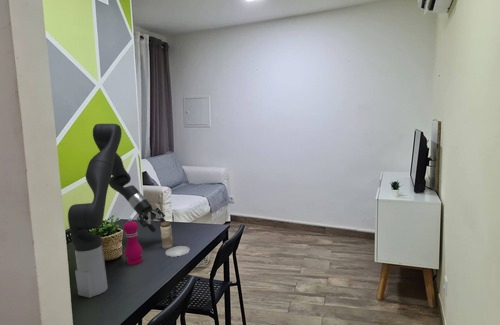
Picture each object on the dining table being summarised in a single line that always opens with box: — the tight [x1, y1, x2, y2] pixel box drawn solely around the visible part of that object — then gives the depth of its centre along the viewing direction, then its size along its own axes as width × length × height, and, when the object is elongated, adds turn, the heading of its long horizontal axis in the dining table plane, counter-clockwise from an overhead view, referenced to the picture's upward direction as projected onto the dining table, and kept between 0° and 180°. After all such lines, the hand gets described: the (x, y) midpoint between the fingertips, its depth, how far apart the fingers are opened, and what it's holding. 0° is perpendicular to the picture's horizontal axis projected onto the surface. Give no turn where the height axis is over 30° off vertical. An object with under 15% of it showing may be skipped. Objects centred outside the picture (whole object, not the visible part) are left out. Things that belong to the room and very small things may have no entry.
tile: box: [165, 245, 191, 258], centre depth 163 cm, size 11×11×1 cm
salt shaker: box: [159, 220, 174, 250], centre depth 169 cm, size 5×5×12 cm
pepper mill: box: [123, 217, 143, 266], centre depth 153 cm, size 7×7×20 cm
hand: (160, 228), depth 170 cm, fingers open, 8 cm apart
